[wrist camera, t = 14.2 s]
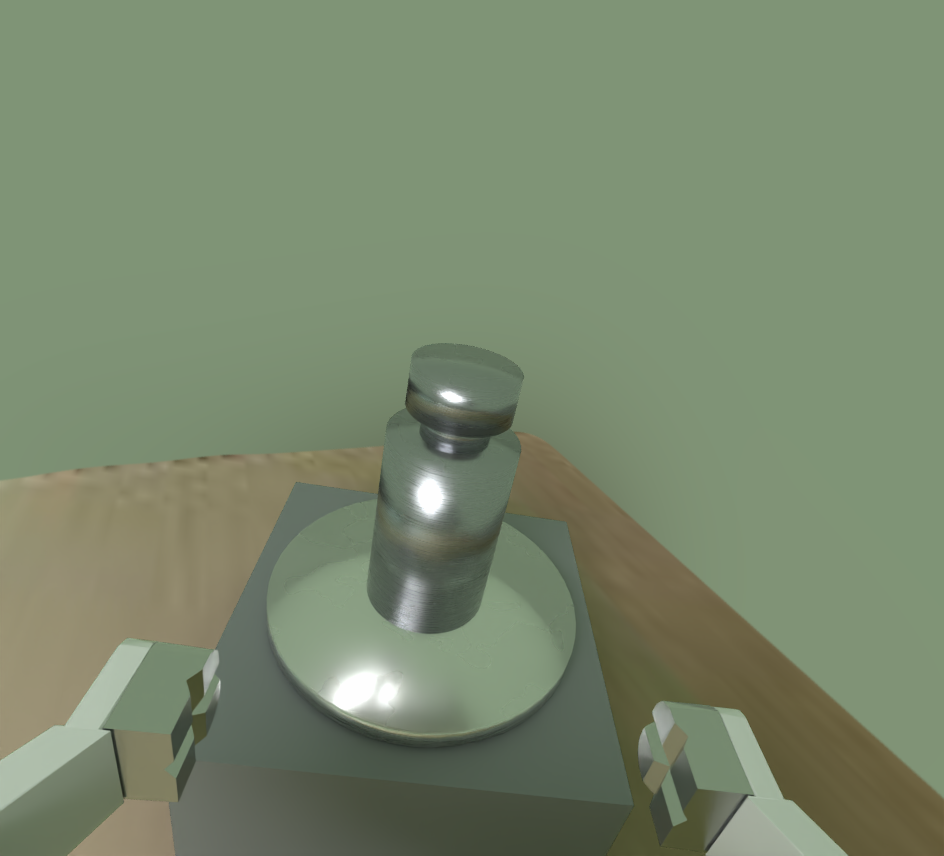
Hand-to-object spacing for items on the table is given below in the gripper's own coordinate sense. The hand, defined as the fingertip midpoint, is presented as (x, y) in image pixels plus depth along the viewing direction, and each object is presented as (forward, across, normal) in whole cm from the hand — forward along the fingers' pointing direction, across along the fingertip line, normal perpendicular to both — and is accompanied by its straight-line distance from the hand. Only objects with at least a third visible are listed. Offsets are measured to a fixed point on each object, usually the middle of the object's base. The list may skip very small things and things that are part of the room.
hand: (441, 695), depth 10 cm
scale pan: (+10, 0, +8) cm, 13 cm away
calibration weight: (+10, 0, +7) cm, 12 cm away
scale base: (+10, 0, +14) cm, 17 cm away
